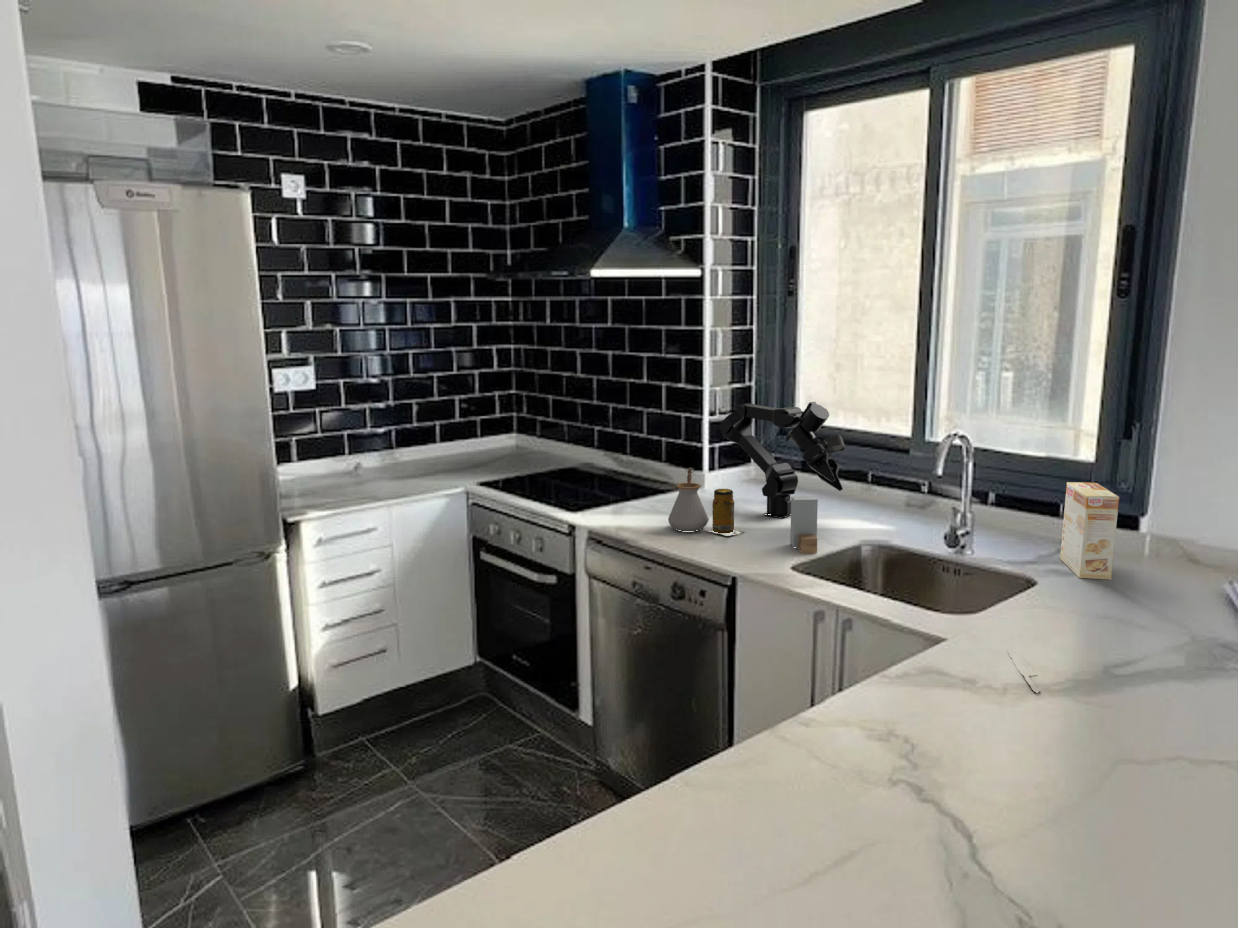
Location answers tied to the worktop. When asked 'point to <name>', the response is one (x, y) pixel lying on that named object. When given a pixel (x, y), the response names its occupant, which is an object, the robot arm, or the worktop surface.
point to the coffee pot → (688, 508)
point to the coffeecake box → (1089, 530)
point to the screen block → (803, 517)
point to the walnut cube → (807, 543)
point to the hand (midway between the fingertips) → (837, 485)
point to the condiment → (723, 511)
